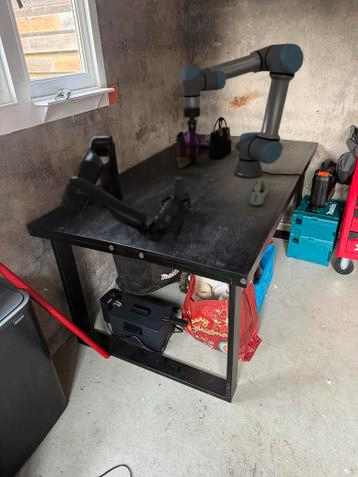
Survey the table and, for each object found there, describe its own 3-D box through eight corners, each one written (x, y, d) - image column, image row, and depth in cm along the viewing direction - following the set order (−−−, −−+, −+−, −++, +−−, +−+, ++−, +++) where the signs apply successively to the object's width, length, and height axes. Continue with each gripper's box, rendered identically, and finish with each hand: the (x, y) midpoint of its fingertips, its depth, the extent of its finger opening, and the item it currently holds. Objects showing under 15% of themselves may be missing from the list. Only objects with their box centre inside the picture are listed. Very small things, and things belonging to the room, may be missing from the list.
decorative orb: (204, 151, 235) (204, 129, 228) (194, 156, 225) (193, 134, 217) (186, 149, 243) (186, 128, 235) (175, 154, 232) (174, 132, 224)
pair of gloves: (198, 150, 238) (197, 143, 235) (183, 143, 258) (183, 136, 256) (233, 144, 247) (234, 137, 245) (217, 137, 268) (217, 131, 265)
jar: (174, 209, 154) (171, 177, 146) (182, 206, 156) (181, 175, 148) (178, 212, 150) (176, 180, 142) (187, 210, 152) (186, 178, 144)
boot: (194, 157, 223) (193, 127, 213) (188, 169, 203) (187, 135, 193) (182, 157, 225) (180, 127, 215) (174, 168, 205) (172, 136, 194)
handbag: (219, 160, 215) (219, 120, 202) (207, 158, 219) (206, 119, 207) (232, 152, 230) (233, 114, 217) (220, 150, 234) (221, 113, 222)
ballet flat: (269, 188, 169) (270, 173, 165) (265, 208, 149) (266, 191, 145) (252, 187, 171) (253, 172, 167) (246, 206, 151) (247, 190, 147)
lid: (200, 153, 154) (200, 149, 153) (192, 156, 151) (192, 151, 150) (192, 151, 158) (192, 147, 157) (184, 154, 155) (184, 149, 154)
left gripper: (155, 217, 142) (167, 201, 156) (187, 220, 138) (197, 203, 152) (154, 201, 138) (166, 186, 152) (186, 203, 134) (196, 188, 148)
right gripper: (183, 104, 152) (185, 154, 164) (182, 110, 137) (184, 165, 148) (199, 103, 152) (200, 153, 164) (200, 110, 136) (201, 164, 148)
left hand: (181, 195), depth 152 cm, fingers closed on jar, 4 cm apart
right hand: (192, 159), depth 156 cm, fingers closed on lid, 5 cm apart
